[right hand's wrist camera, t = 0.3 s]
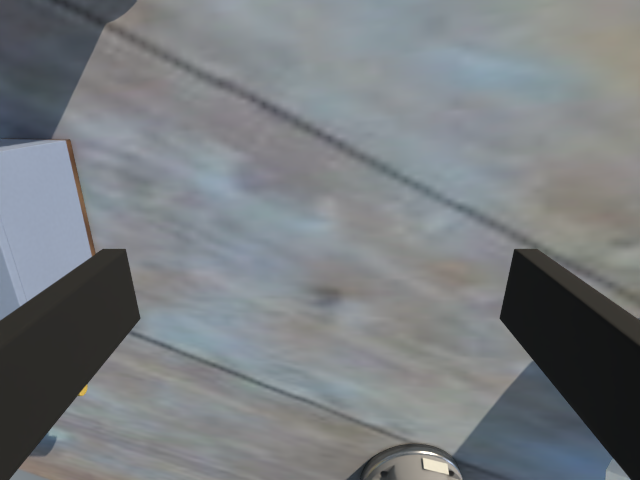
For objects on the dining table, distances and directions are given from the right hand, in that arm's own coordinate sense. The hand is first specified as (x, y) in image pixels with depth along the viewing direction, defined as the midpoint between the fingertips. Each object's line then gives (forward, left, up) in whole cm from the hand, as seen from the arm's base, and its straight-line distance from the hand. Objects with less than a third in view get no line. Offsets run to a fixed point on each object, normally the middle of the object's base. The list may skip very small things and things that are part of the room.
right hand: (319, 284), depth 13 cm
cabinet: (-8, +30, -28) cm, 41 cm away
